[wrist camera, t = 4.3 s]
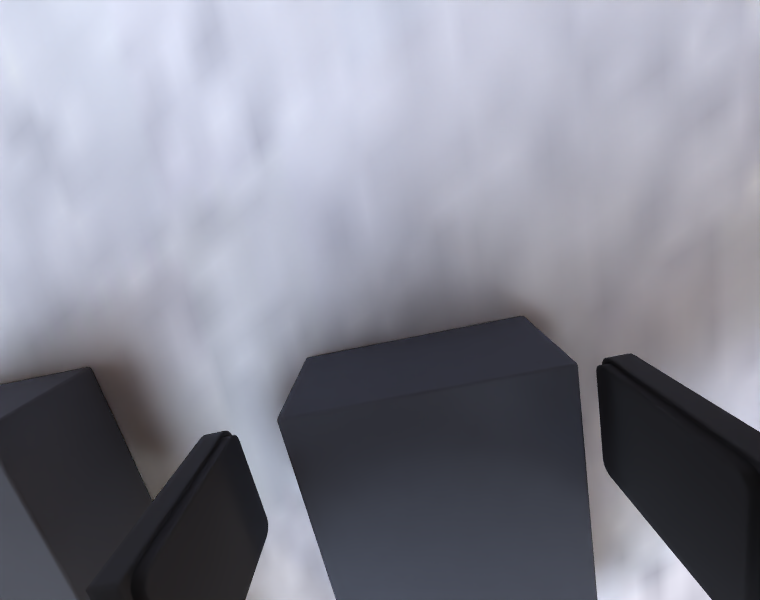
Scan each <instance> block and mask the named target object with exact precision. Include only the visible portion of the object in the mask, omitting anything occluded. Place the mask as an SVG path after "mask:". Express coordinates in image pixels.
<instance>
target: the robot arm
mask: <svg viewBox="0 0 760 600" xmlns="http://www.w3.org/2000/svg"><path fill="white" fill-rule="evenodd" d="M596 374H597V387H598V400H599V414H600V427H601V440H602V453H603V462H604V465H605V468H606V470H607V472H608V474H609V475H610V477H611V478H612V479H613V480H614V481H615V483H616V484H617V485H618V486H619V488H620V489H621V490H622V491H623V492H624V494H625V495H626V496H627V497H628V498H629V500H630V501H631V502H632V503H633V504H634V506H635V507H636V508H637V509H638V511H639V512H640V513H641V514H642V515H643V517H644V518H645V519H646V520H647V521H648V523H649V524H650V525H651V526H652V528H653V529H654V530H655V531H656V532H657V534H658V535H659V536H660V537H661V538H662V540H663V541H664V542H665V543H666V544H667V546H668V547H669V548H670V549H671V551H672V552H673V553H674V554H675V555H676V557H677V558H678V559H679V560H680V561H681V563H682V564H683V565H684V566H685V568H686V569H687V570H688V571H689V572H690V574H691V575H692V576H693V577H694V578H695V580H696V581H697V582H698V583H699V584H700V586H701V587H702V588H703V589H704V591H705V592H706V593H707V594H708V595H709V597H710V598H711V599H712V600H760V432H759V431H757V430H755V429H754V428H752V427H751V426H749V425H747V424H746V423H744V422H742V421H741V420H739V419H738V418H736V417H734V416H733V415H731V414H729V413H728V412H726V411H725V410H723V409H721V408H720V407H718V406H716V405H715V404H713V403H712V402H710V401H708V400H707V399H705V398H703V397H702V396H700V395H699V394H697V393H695V392H694V391H692V390H690V389H689V388H687V387H686V386H684V385H682V384H681V383H679V382H677V381H676V380H674V379H673V378H671V377H669V376H668V375H666V374H664V373H663V372H661V371H660V370H658V369H656V368H655V367H653V366H651V365H650V364H648V363H647V362H645V361H643V360H642V359H640V358H638V357H637V356H635V355H633V354H631V353H630V354H624V355H618V356H613V357H608V358H605V359H604V360H603V362H602V365H599V366H598V367H597V369H596ZM267 533H268V520H267V517H266V514H265V511H264V508H263V505H262V503H261V500H260V497H259V494H258V491H257V489H256V486H255V483H254V480H253V477H252V475H251V472H250V469H249V466H248V464H247V461H246V458H245V455H244V452H243V450H242V447H241V444H240V441H239V439H238V437H237V436H236V435H231V433H230V432H229V431H222V432H217V433H212V434H206V435H203V436H202V437H201V439H200V440H199V441H198V442H197V444H196V445H195V446H194V448H193V449H192V450H191V452H190V453H189V454H188V456H187V457H186V458H185V460H184V461H183V462H182V464H181V465H180V466H179V467H178V469H177V470H176V471H175V473H174V474H173V475H172V477H171V478H170V479H169V481H168V482H167V483H166V485H165V486H164V487H163V489H162V490H161V491H160V492H159V494H158V495H157V496H156V498H155V499H154V500H153V502H152V503H151V504H150V506H149V507H148V508H147V510H146V511H145V512H144V514H143V515H142V516H141V517H140V519H139V520H138V521H137V523H136V524H135V525H134V527H133V528H132V529H131V531H130V532H129V533H128V535H127V536H126V537H125V539H124V540H123V541H122V542H121V544H120V545H119V546H118V548H117V549H116V550H115V552H114V553H113V554H112V556H111V557H110V558H109V560H108V561H107V562H106V564H105V565H104V566H103V567H102V569H101V570H100V571H99V573H98V574H97V575H96V577H95V578H94V579H93V581H92V582H91V583H90V585H89V586H88V587H87V589H86V592H87V594H88V596H89V598H90V600H245V598H246V596H247V593H248V590H249V587H250V584H251V581H252V578H253V575H254V572H255V569H256V566H257V563H258V560H259V558H260V555H261V552H262V549H263V546H264V543H265V540H266V537H267Z"/></svg>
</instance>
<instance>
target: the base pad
mask: <svg viewBox="0 0 760 600" xmlns="http://www.w3.org/2000/svg"><path fill="white" fill-rule="evenodd" d="M151 503H152V500H151V498H150V496H149V494H148V491H147V489H146V487H145V485H144V483H143V481H142V478H141V476H140V474H139V472H138V470H137V467H136V465H135V463H134V461H133V459H132V457H131V454H130V452H129V450H128V448H127V446H126V444H125V441H124V439H123V437H122V435H121V433H120V431H119V428H118V426H117V424H116V422H115V420H114V417H113V415H112V413H111V411H110V409H109V407H108V404H107V402H106V400H105V398H104V396H103V394H102V391H101V389H100V387H99V385H98V383H97V381H96V378H95V376H94V374H93V372H92V370H91V368H90V367H86V368H81V369H76V370H71V371H66V372H61V373H56V374H51V375H46V376H41V377H37V378H32V379H27V380H22V381H17V382H12V383H7V384H2V385H0V600H90V598H89V596H88V594H87V592H86V589H87V587H88V586H89V585H90V583H91V582H92V581H93V579H94V578H95V577H96V575H97V574H98V573H99V571H100V570H101V569H102V567H103V566H104V565H105V564H106V562H107V561H108V560H109V558H110V557H111V556H112V554H113V553H114V552H115V550H116V549H117V548H118V546H119V545H120V544H121V542H122V541H123V540H124V539H125V537H126V536H127V535H128V533H129V532H130V531H131V529H132V528H133V527H134V525H135V524H136V523H137V521H138V520H139V519H140V517H141V516H142V515H143V514H144V512H145V511H146V510H147V508H148V507H149V506H150V504H151Z"/></svg>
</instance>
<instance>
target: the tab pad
mask: <svg viewBox="0 0 760 600" xmlns="http://www.w3.org/2000/svg"><path fill="white" fill-rule="evenodd" d="M277 421H278V424H279V427H280V431H281V434H282V437H283V440H284V443H285V446H286V449H287V452H288V455H289V458H290V461H291V464H292V467H293V470H294V473H295V476H296V479H297V482H298V485H299V488H300V491H301V494H302V497H303V500H304V503H305V506H306V509H307V513H308V516H309V519H310V522H311V525H312V528H313V531H314V534H315V537H316V540H317V543H318V546H319V549H320V552H321V555H322V558H323V561H324V564H325V567H326V570H327V573H328V576H329V579H330V582H331V585H332V588H333V591H334V594H335V598H336V600H597V591H596V579H595V567H594V555H593V543H592V531H591V519H590V507H589V495H588V483H587V471H586V459H585V448H584V436H583V424H582V412H581V400H580V388H579V376H578V365H577V363H576V362H575V361H573V360H572V359H571V358H570V357H569V356H568V355H567V354H566V353H564V352H563V351H562V350H561V349H560V348H559V347H558V346H557V345H555V344H554V343H553V342H552V341H551V340H550V339H549V338H548V337H546V336H545V335H544V334H543V333H542V332H541V331H540V330H539V329H537V328H536V327H535V326H534V325H533V324H532V323H531V322H530V321H528V320H527V319H526V318H525V317H524V316H519V317H514V318H509V319H503V320H498V321H493V322H488V323H483V324H478V325H473V326H468V327H463V328H458V329H452V330H447V331H442V332H437V333H432V334H427V335H422V336H417V337H412V338H407V339H401V340H396V341H391V342H386V343H381V344H376V345H371V346H366V347H361V348H356V349H350V350H345V351H340V352H335V353H330V354H325V355H320V356H315V357H310V358H307V359H306V360H305V363H304V365H303V367H302V369H301V371H300V373H299V375H298V377H297V379H296V381H295V383H294V385H293V387H292V389H291V392H290V394H289V396H288V398H287V400H286V402H285V404H284V406H283V408H282V410H281V412H280V414H279V416H278V419H277Z"/></svg>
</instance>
